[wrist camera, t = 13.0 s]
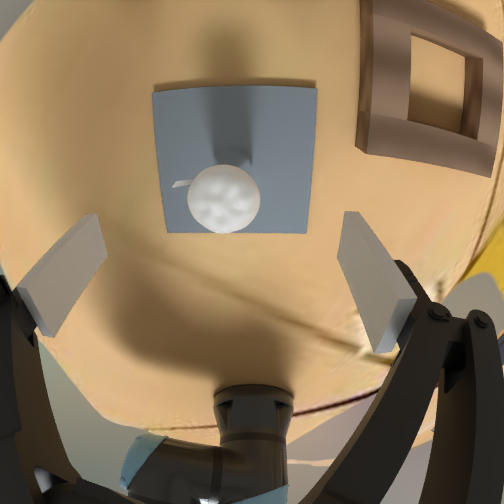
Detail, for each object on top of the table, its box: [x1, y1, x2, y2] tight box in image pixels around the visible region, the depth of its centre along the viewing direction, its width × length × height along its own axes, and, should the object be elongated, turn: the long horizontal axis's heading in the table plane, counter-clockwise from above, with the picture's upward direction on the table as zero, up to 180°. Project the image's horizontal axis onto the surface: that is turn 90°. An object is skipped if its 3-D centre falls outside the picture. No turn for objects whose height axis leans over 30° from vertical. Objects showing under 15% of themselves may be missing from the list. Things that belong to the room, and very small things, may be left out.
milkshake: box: [172, 149, 260, 234], centre depth 20 cm, size 4×5×10 cm
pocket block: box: [355, 0, 503, 178], centre depth 17 cm, size 16×16×3 cm
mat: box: [152, 85, 317, 234], centre depth 24 cm, size 14×14×1 cm
